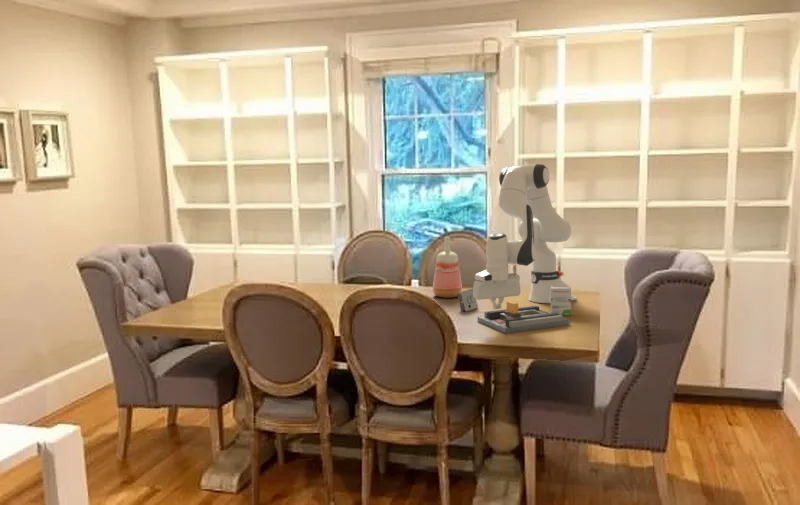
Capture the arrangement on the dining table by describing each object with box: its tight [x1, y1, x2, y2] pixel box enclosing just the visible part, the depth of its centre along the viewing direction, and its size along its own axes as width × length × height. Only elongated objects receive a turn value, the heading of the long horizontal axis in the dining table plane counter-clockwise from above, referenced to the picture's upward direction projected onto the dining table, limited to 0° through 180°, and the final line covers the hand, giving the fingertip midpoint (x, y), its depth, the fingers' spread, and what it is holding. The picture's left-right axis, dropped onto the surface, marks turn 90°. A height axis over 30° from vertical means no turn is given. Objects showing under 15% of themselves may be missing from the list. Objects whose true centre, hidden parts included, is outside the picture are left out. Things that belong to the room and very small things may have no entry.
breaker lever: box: [504, 300, 521, 317], centre depth 270 cm, size 4×6×7 cm, turn 23°
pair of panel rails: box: [483, 305, 564, 328], centre depth 272 cm, size 24×21×2 cm
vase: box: [432, 236, 463, 299], centre depth 327 cm, size 14×14×30 cm
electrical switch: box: [457, 287, 479, 312], centre depth 300 cm, size 9×5×9 cm, turn 141°
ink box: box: [550, 286, 572, 316], centre depth 286 cm, size 9×5×12 cm, turn 76°
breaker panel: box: [477, 309, 571, 334], centre depth 273 cm, size 30×22×4 cm
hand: (497, 308), depth 267 cm, fingers closed
